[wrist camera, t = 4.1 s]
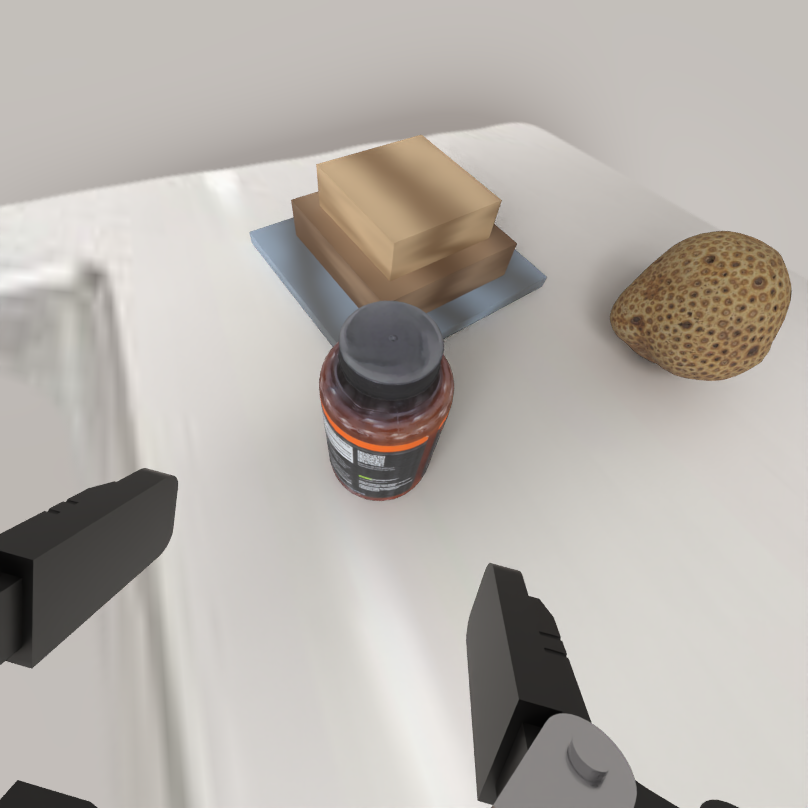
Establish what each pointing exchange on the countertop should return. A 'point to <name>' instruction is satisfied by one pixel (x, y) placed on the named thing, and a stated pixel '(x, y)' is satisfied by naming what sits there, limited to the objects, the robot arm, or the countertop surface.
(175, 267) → the countertop surface
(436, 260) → the block tower
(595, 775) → the robot arm
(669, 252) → the natural sponge
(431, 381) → the supplement bottle
